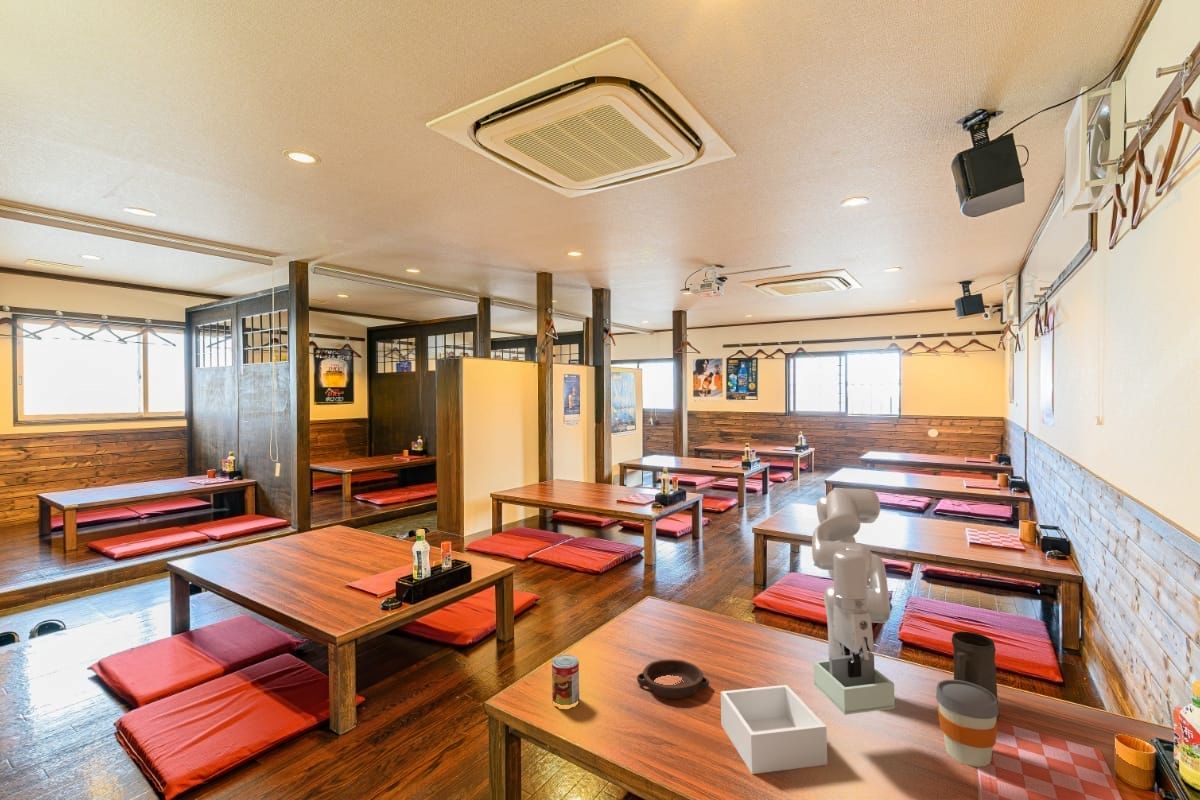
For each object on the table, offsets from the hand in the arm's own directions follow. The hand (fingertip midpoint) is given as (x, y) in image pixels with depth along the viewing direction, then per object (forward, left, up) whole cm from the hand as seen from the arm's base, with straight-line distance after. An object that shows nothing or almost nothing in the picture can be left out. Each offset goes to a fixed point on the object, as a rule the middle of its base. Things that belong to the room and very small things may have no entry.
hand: (852, 674), depth 130 cm
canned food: (+69, -33, -19) cm, 79 cm away
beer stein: (-42, -8, -19) cm, 46 cm away
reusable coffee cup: (-26, +7, -19) cm, 32 cm away
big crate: (+19, -5, -18) cm, 27 cm away
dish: (+36, -35, -19) cm, 54 cm away
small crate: (0, 0, -5) cm, 5 cm away
